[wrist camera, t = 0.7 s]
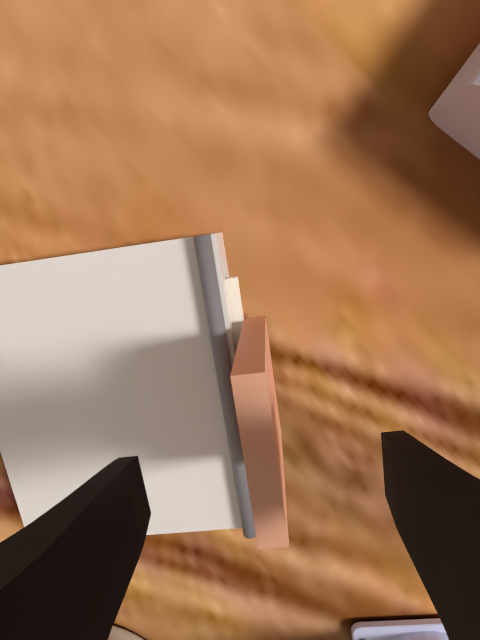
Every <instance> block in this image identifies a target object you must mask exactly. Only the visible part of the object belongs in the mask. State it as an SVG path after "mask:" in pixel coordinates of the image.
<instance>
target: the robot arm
mask: <svg viewBox="0 0 480 640" xmlns="http://www.w3.org/2000/svg"><path fill="white" fill-rule="evenodd" d="M381 440H382V454H383V469H384V483H385V495H386V498H387V501H388V504H389V507H390V510H391V513H392V516H393V519H394V522H395V524H396V527H397V530H398V532H399V534H400V536H401V538H402V540H403V543H404V545H405V547H406V549H407V551H408V553H409V555H410V557H411V559H412V561H413V563H414V565H415V567H416V570H417V572H418V574H419V576H420V578H421V580H422V582H423V584H424V586H425V588H426V590H427V592H428V594H429V596H430V598H431V600H432V602H433V605H434V607H435V609H436V611H437V613H438V615H439V617H440V618H433V619H412V620H391V621H370V622H357V623H355V624H353V625H352V627H351V633H352V640H480V479H478V478H476V477H474V476H473V475H471V474H469V473H468V472H466V471H464V470H463V469H461V468H459V467H458V466H456V465H455V464H453V463H451V462H450V461H448V460H447V459H445V458H444V457H442V456H441V455H439V454H438V453H436V452H435V451H433V450H432V449H430V448H429V447H427V446H426V445H424V444H423V443H421V442H420V441H418V440H417V439H416V438H414V437H413V436H411V435H410V434H408V433H406V432H405V431H392V432H382V433H381ZM150 516H151V510H150V506H149V502H148V498H147V493H146V489H145V485H144V480H143V476H142V472H141V467H140V463H139V459H138V456H130V457H119V458H117V459H116V460H114V461H113V462H111V463H110V464H108V465H107V466H106V467H104V468H103V469H102V470H100V471H99V472H98V473H96V474H95V475H94V476H93V477H91V478H90V479H89V480H88V481H86V482H85V483H84V484H82V485H81V486H80V487H79V488H77V489H76V490H75V491H73V492H72V493H71V494H70V495H68V496H67V497H66V498H64V499H63V500H62V501H60V502H59V503H58V504H56V505H55V506H53V507H52V508H51V509H49V510H48V511H47V512H45V513H44V514H42V515H41V516H40V517H38V518H37V519H36V520H34V521H33V522H31V523H30V524H28V525H27V526H26V527H24V528H23V529H21V530H20V531H18V532H16V533H15V534H13V535H12V536H10V537H9V538H7V539H5V540H4V541H2V542H1V543H0V640H108V638H109V635H110V632H111V629H112V626H113V624H114V621H115V619H116V616H117V614H118V611H119V608H120V606H121V603H122V601H123V598H124V596H125V593H126V590H127V588H128V585H129V583H130V580H131V578H132V575H133V572H134V570H135V567H136V565H137V562H138V559H139V557H140V554H141V551H142V548H143V545H144V541H145V537H146V534H147V530H148V525H149V521H150Z"/></svg>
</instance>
